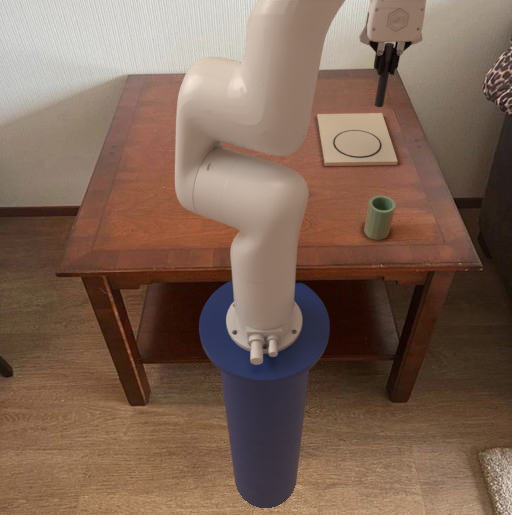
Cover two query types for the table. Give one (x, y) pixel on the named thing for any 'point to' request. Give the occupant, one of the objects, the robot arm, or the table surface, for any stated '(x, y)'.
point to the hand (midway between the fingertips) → (384, 71)
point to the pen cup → (379, 217)
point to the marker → (384, 75)
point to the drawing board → (355, 140)
